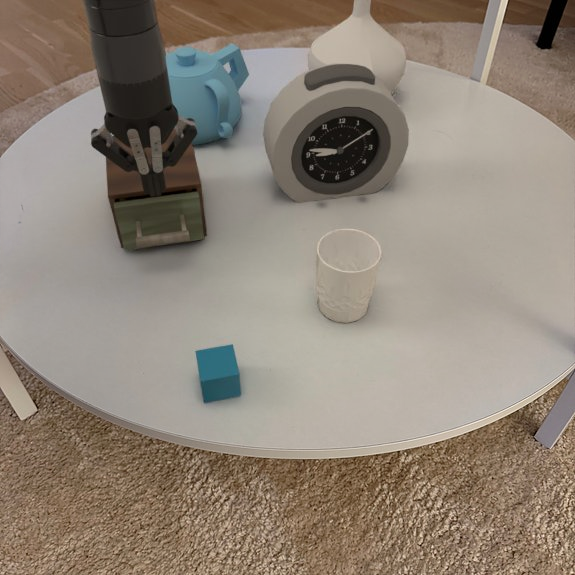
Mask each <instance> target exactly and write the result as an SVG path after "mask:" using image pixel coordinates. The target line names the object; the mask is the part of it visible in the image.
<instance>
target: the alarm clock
mask: <svg viewBox="0 0 575 575" xmlns="http://www.w3.org/2000/svg"><path fill="white" fill-rule="evenodd" d="M406 118H407V117H406V115H405V114H404V111H403V110H402V108H401V107H400V106H399V104H398V103H397V101H396V99H395V98H394V97H393V95H392V94H391V93H390V92H389V90H388V89H387V88H386V86H385V85H384V83H383V82H382V81H381V79H380V78H378V77H377V76H376V75H374V74H373V73H372V71H371V70H370V69H368V68H367V67H364V66H360V65H354V64H329V65H325V66H320V67H315V68H313V69H311V70H309V69H308V70H307V71H305V72H302V73H301V74H299V75H297V76H296V77H295V78H294V79H292V80H291V81H290V82H288V83H287V84H286V85H285V86H284V87H282V88H281V90H280V91H279V92H278V94H277V95H276V97H275V98H274V99H273V101H272V102H271V104H270V106H269V108H268V111H267V113H266V116H265V118H264V124H263V131H262V137H263V144H264V149H265V153H266V155H267V159H268V162H269V165H270V168H271V171H272V174H273V177H274V179H275V180H276V182H277V185H278V186H279V189H280V190H281V191H283V192H284V193H285V195H287V197H289V198H290V199H291V200H292V201H295V202H296V203H305V202H313V201H314V202H315V201H321V200H329V199H335V198H336V199H337V198H345V197H353V196H359V195H361V196H362V195H367V194H375V193H378V192H379V191H380V190H382V189H383V188H384V187H385V186H386V185H387V184H388V183H389V182H390V181H391V180H392V178H394V177H395V176H396V174H397V172H398V170H399V169H400V167H401V165H402V164H403V162H404V160H405V156H406V153H407V151H408V148H409V139H410V138H409V136H410V129H409V126H408V125H409V124H408V122H407V119H406Z"/></svg>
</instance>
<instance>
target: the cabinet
mask: <svg viewBox="0 0 575 575" xmlns="http://www.w3.org/2000/svg"><path fill="white" fill-rule="evenodd" d="M176 134H177V133H176V129H173V131H172V132H171V134H170V136H169V137H168V139H167V140H166V142H165V143H164V144H162V145H161V148H162V153H163V152H165V150H166V149H167V147H168V146H169V144H170V143H171V141H172V140H173V138H174V137H175V135H176ZM112 136H113V141H115V142H116V143H117V144H119V145H120V146H121V147H122V148H124V149H125V150H126V151H128V152H129V153H130V154H131V155H132V156H134V154H133V151H132V148H129V147H127V146H126V145H125V144H123V143H122V142H121V141H120V140H119V139H117V138H116V137H115V136H114V135H112ZM145 151H146V154H147V158H148V164H150V166H151V164H152V161H151V159H152V157H151V148H148V147H147V148H145ZM195 154H196V153H195V150H194V145H192V143H191V144H190V145H189V147H188V148H187V150H186V151H185V153H184V154H183V155H182V157H181V158H180V160H179V161H178V163H177V164H176V165H175V166H173V167H170V166H167V167H165V168H164V170H163V173H164V179H165V185H166V189H165V191H161V193H165V192H173V191H180V190H188V189H192V192H198V194H199V199H200V208H201V216H202V224H203V233H204V237H206V236H208V231H207V221H206V212H205V205H204V194H203V188H202V186H203V185H202V181H201V176H200V172H199V167H198V162H197V158H196V155H195ZM105 169H106V170H105V171H106V187H107V189H106V190H107V198H108V202H109V207H110V211H111V214H112V218H113V221H114V222H113V223H114V224H115V229H116V234H117V237H118V242H119V245H120V248H121V249H124V246H123V242H122V238H121V234H120V230H119V226H118V222H117V218H116V214H115V210H114V203H115V202H120V200H119V199H120V198H127V197H135V196H143V195H150V193H145V192H144V190H143V186H142V181H141V176H140V173H139V172H137V171H133V170H132V171H131V172H126V171H124V170H123V169H122V168H120V167H119V166H118V165H116V164H115V163H113V162H112V161H111V160H109V159H108V158H107V157H105ZM151 171H152V170H151ZM155 194H156V192H155Z"/></svg>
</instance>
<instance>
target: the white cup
mask: <svg viewBox="0 0 575 575" xmlns="http://www.w3.org/2000/svg"><path fill="white" fill-rule="evenodd" d="M382 255H383V251H382V247H381V245H380V243H379V241H378V240H377V239H376V238H375V237H374V236H372V235H371V234H369V233H368V232H365V231H363V230H360V229H355V228H337V229H333V230H331V231H329V232H326V233H325V234H324V235H323V236H322V237H321V238H320V239H319V240H318V242H317V245H316V293H317V305H318V310H319V311H320V313H322V314H323V316H324V317H325V318H326V319H329V320H331V321H333V322H336V323H343V324H345V323H346V324H349V323H352V322H355V321H356V322H357V321H359V320H360V319H361V318H362V317H364V316H365V315H366V314H367V312H368V307H369V304H370V300H371V298H372V297H373V291H374V288H375V284H376V280H377V275H378V272H379V268H380V263H381V259H382Z"/></svg>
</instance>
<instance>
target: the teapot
mask: <svg viewBox="0 0 575 575" xmlns="http://www.w3.org/2000/svg"><path fill="white" fill-rule="evenodd" d="M166 64H167V70H168V77H169V84H170V91H171V98H172V103H173V105H174V106H175V107H176V109H177V111H178V115H179V116H181V117H183V118H185V119H188V118H192V119H194V121H195V124H196V128H197V135H196V137H195V138H194V140H193V141H192V145H193V146H194V145H195V146H196V145H203V144H207V143H210V142H214V141H217V140H219V139H221V138H222V139H228V138H231V137H232V136H233V134H234V127H235V125H236V124H237V123H238V122H239V121H240V117H241V116H242V110H243V109H242V101H241V96H240V94H239V91H240V89H241V88H242V86H243V85H244V83H245V82H246V80H247V78H249V76H250V73H249V70H248V67H247V65H246V62H245V58H244V56H243V54H242V51H241V48H240V47H238V46H237V45H235V44H234V43H230V44H228V45H226V46H224V47H222V48H221V49H219V50H217V51H215V52H214V53H210V52H207V51H204V50H201V49H196V48H195V47H192V46H181V47H178V48H176V49H175V50H174V51H171V52H168V53H166ZM226 64H228V65H229V68H230V71H229V72H228V70H226V68H225V67H224V66H225V65H226ZM174 129H176V126H175V127H174Z"/></svg>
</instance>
